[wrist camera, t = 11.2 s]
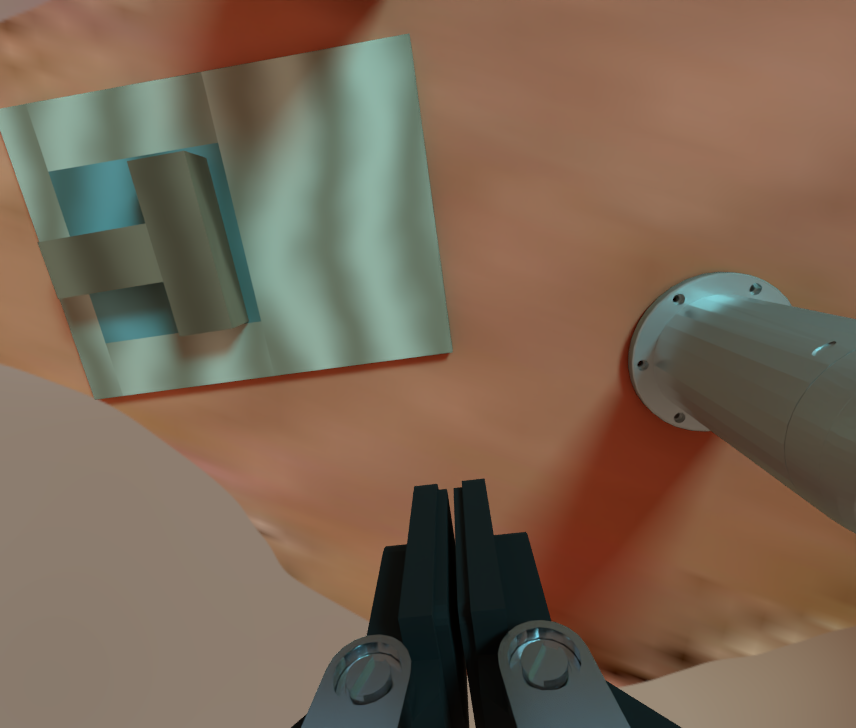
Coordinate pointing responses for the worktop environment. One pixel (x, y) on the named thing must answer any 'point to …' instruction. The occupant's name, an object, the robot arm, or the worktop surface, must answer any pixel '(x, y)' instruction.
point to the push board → (253, 213)
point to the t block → (160, 248)
